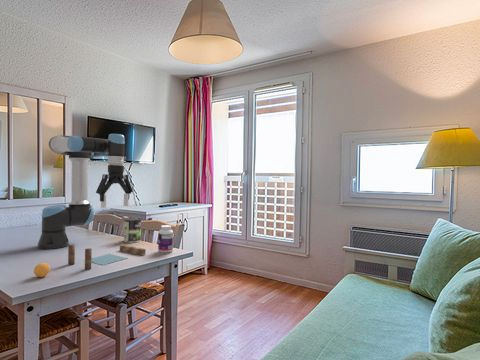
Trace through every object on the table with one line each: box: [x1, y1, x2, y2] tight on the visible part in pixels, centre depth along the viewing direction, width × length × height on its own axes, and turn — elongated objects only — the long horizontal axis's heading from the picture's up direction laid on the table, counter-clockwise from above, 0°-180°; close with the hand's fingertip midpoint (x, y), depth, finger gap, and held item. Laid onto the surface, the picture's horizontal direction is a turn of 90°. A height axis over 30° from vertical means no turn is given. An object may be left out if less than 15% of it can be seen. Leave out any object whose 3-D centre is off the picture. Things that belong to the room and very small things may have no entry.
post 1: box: [67, 244, 76, 266], centre depth 137 cm, size 3×3×9 cm
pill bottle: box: [157, 224, 174, 254], centre depth 164 cm, size 8×8×14 cm
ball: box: [33, 262, 51, 278], centre depth 120 cm, size 6×6×6 cm
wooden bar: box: [119, 244, 147, 256], centre depth 160 cm, size 18×2×3 cm, turn 61°
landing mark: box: [91, 253, 128, 266], centre depth 146 cm, size 14×14×1 cm
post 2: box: [84, 247, 93, 271], centre depth 131 cm, size 3×3×9 cm
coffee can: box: [123, 217, 142, 244], centre depth 187 cm, size 10×10×14 cm
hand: (115, 207), depth 148 cm, fingers open, 13 cm apart
